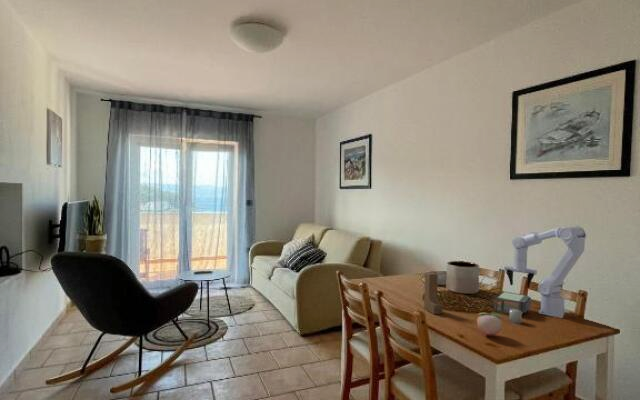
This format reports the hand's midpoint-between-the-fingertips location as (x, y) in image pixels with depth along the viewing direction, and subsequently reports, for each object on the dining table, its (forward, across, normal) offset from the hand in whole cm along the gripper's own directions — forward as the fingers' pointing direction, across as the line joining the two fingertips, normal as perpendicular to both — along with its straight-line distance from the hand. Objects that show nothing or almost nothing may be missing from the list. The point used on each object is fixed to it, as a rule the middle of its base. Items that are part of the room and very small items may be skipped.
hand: (519, 286), depth 182 cm
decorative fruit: (+10, 0, +54) cm, 55 cm away
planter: (+10, +31, -6) cm, 33 cm away
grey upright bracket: (+10, +29, +41) cm, 51 cm away
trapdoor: (+7, 0, +14) cm, 16 cm away
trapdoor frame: (+9, +1, +14) cm, 17 cm away
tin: (+10, +46, -9) cm, 48 cm away
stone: (+10, -4, +29) cm, 31 cm away
